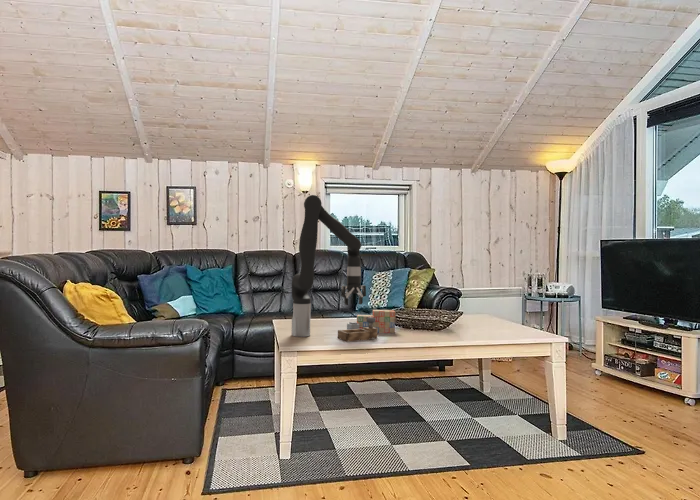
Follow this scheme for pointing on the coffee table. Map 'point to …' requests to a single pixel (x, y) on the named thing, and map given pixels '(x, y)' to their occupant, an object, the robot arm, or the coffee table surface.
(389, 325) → the stack of blocks
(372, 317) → the wheel
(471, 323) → the coffee table surface
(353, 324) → the block
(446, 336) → the coffee table surface
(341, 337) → the chassis
